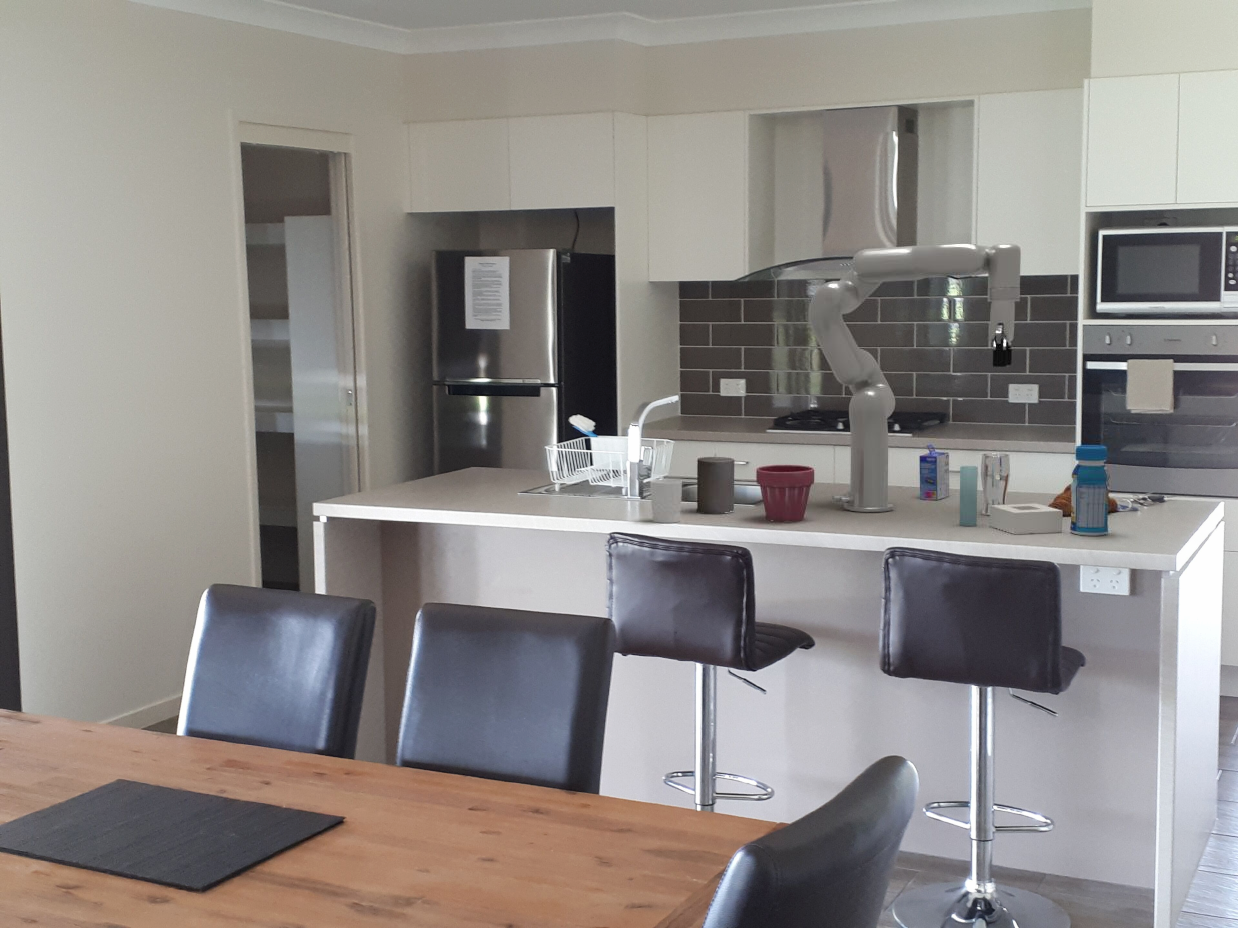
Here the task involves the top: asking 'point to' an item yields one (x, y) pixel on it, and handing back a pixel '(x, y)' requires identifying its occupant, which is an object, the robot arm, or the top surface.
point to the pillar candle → (715, 485)
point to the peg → (968, 495)
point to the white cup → (666, 500)
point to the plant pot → (785, 490)
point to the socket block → (1026, 518)
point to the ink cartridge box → (934, 475)
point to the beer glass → (994, 479)
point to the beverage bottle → (1090, 492)
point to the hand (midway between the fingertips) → (1002, 365)
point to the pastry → (1065, 499)
